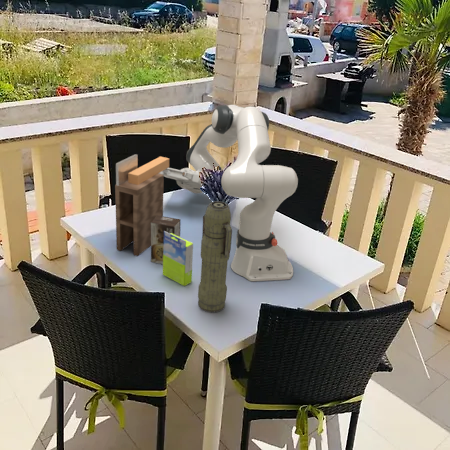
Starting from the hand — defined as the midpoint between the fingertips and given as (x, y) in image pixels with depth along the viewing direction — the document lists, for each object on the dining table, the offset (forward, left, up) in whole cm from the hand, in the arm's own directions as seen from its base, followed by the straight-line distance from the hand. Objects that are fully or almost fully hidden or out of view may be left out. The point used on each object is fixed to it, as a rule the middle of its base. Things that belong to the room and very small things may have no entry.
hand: (173, 171), depth 209 cm
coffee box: (0, +34, -22) cm, 41 cm away
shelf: (+11, +23, -21) cm, 33 cm away
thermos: (-17, +60, -22) cm, 66 cm away
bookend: (+15, +24, +5) cm, 29 cm away
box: (-5, +46, -22) cm, 51 cm away
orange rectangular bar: (+8, +17, +5) cm, 19 cm away
